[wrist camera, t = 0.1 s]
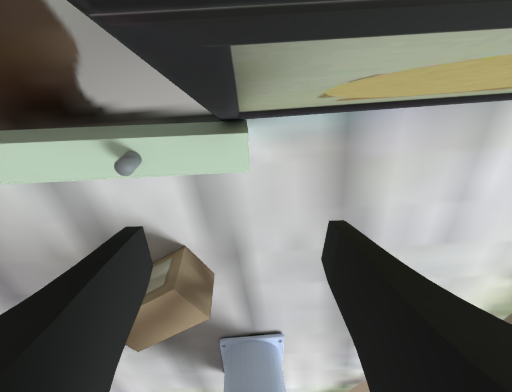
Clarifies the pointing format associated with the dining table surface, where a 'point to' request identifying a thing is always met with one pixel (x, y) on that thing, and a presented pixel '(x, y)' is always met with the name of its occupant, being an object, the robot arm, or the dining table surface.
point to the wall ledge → (123, 151)
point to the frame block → (173, 299)
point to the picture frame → (318, 51)
